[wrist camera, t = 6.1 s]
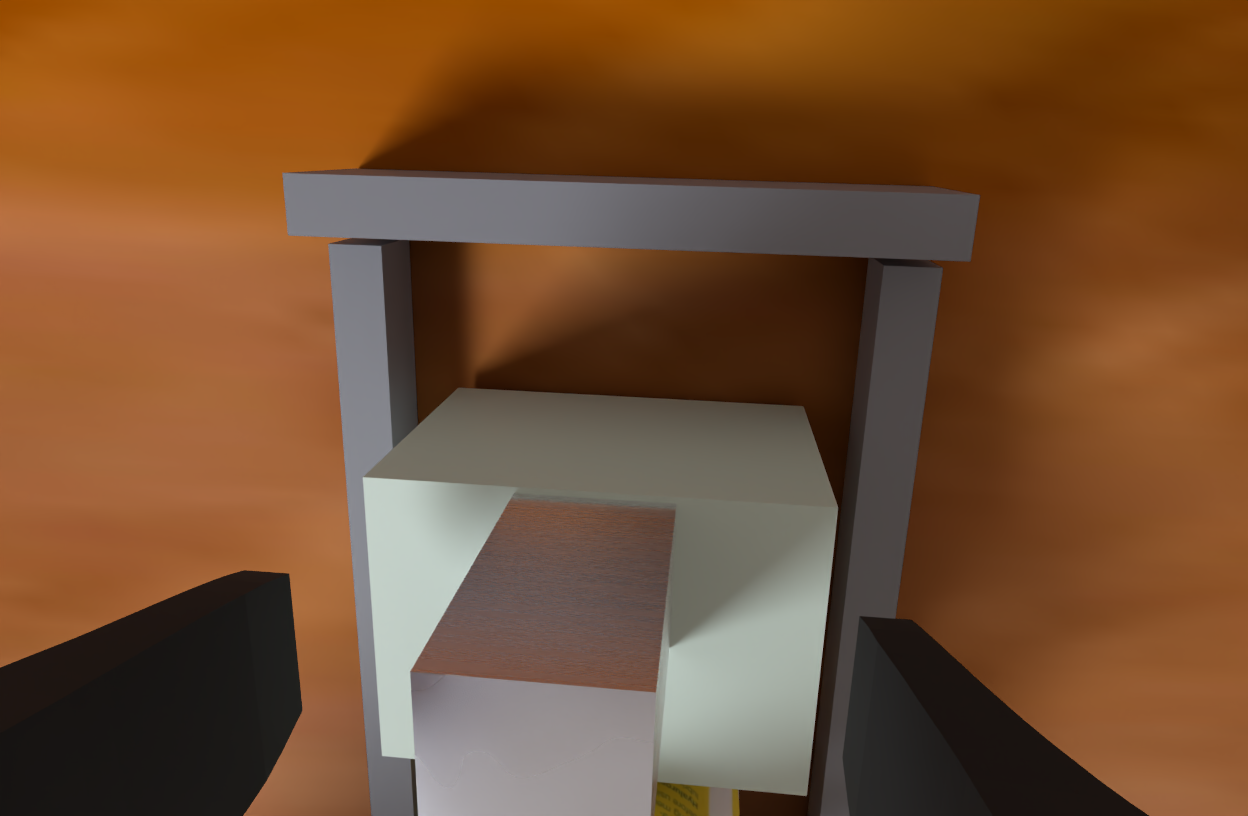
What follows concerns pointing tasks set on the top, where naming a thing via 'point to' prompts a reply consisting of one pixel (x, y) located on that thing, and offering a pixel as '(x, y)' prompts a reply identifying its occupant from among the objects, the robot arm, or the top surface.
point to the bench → (663, 220)
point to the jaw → (598, 600)
